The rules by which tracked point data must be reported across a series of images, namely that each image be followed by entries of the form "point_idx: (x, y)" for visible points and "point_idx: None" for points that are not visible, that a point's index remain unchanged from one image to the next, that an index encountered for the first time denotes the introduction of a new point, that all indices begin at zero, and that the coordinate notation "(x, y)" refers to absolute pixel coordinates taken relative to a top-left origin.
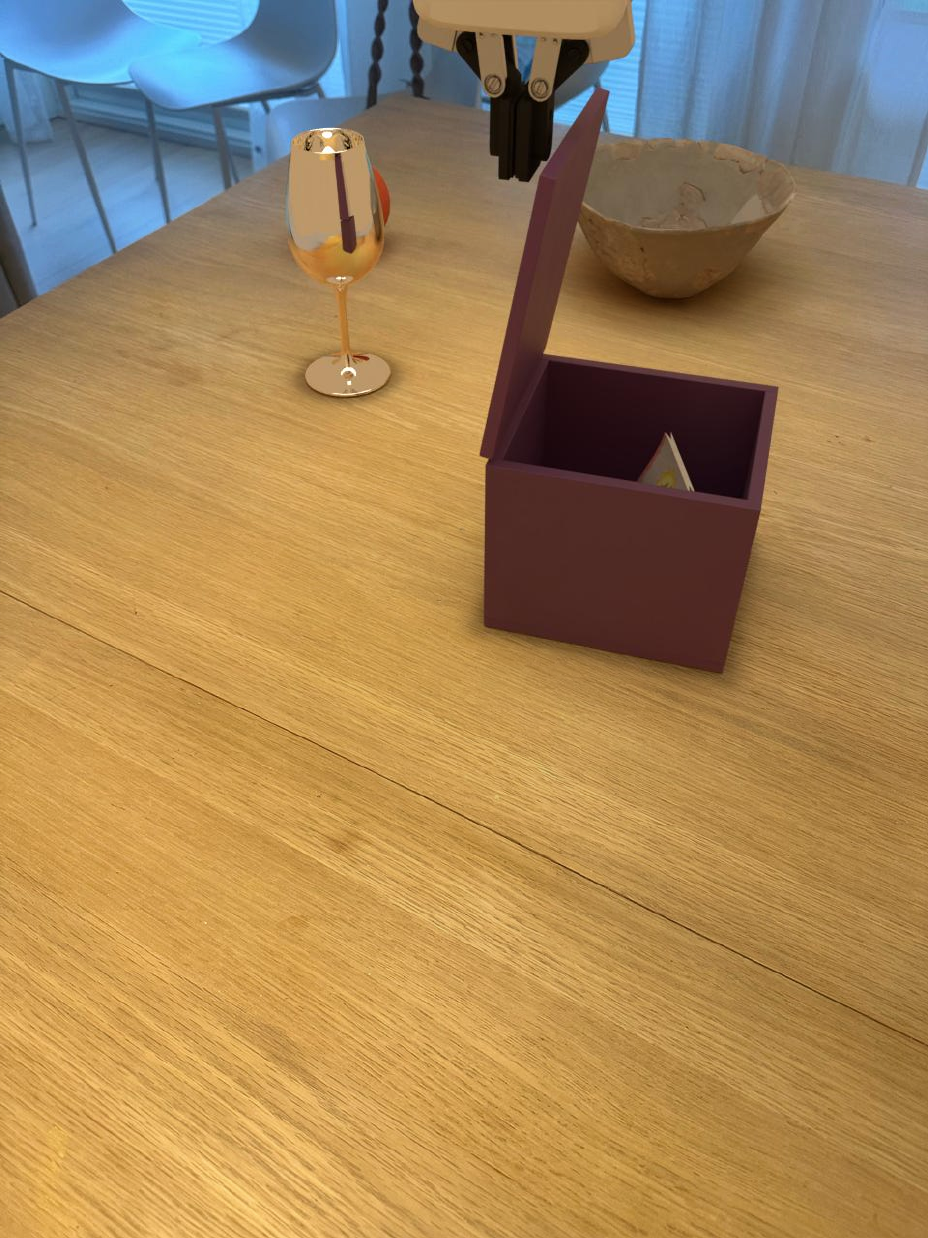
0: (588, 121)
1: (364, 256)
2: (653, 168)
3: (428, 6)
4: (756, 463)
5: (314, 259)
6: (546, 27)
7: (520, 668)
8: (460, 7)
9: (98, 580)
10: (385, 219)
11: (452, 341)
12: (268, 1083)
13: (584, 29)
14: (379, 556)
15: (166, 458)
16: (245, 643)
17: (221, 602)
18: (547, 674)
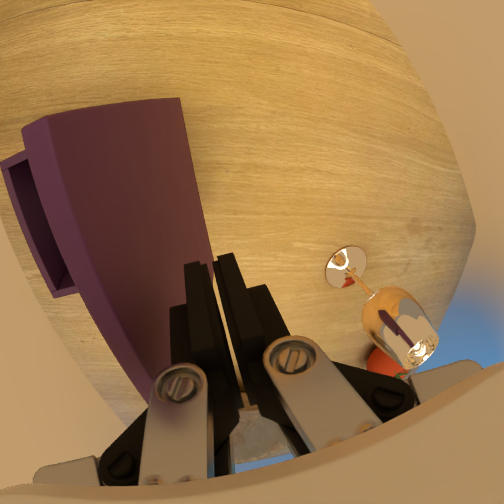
0: (140, 390)
1: (369, 308)
2: (260, 445)
3: None
4: (19, 209)
5: (394, 289)
6: None
7: (143, 84)
8: (475, 441)
9: (378, 63)
10: (367, 368)
11: (307, 319)
12: None
13: (18, 500)
14: (260, 128)
15: (397, 160)
16: (291, 40)
17: (319, 63)
18: (128, 88)
